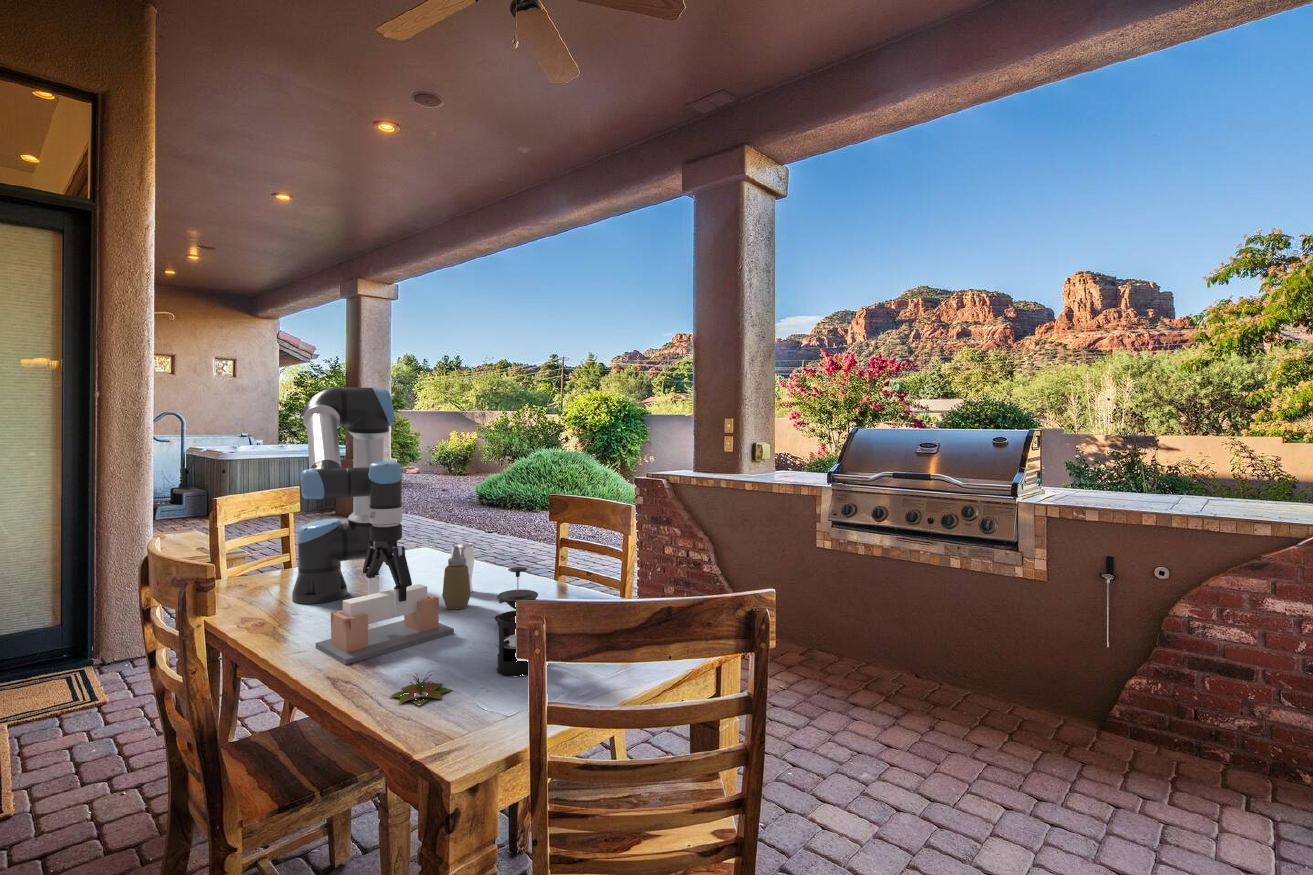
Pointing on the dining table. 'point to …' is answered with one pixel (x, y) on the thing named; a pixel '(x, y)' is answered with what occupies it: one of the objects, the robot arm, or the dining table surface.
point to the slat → (383, 604)
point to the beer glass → (467, 558)
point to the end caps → (382, 633)
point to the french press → (507, 641)
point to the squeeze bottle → (456, 582)
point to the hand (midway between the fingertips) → (386, 608)
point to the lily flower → (417, 688)
